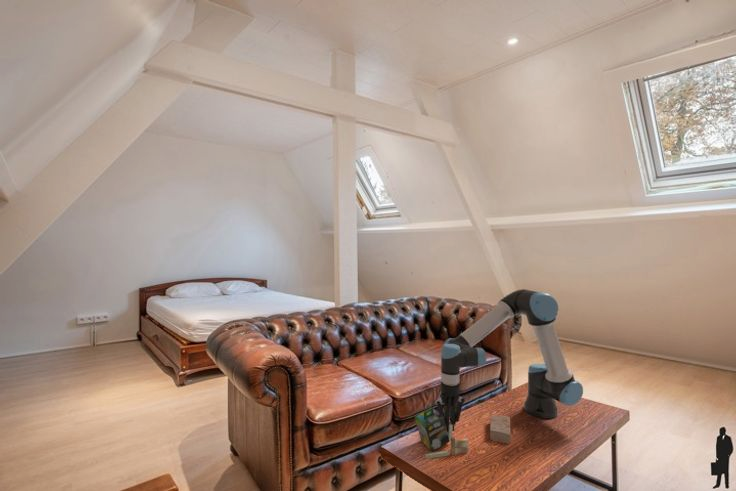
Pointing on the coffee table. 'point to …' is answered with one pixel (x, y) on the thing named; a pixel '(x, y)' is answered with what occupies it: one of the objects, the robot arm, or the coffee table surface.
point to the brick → (500, 428)
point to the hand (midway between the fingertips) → (449, 438)
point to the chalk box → (432, 429)
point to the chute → (459, 446)
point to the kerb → (437, 454)
